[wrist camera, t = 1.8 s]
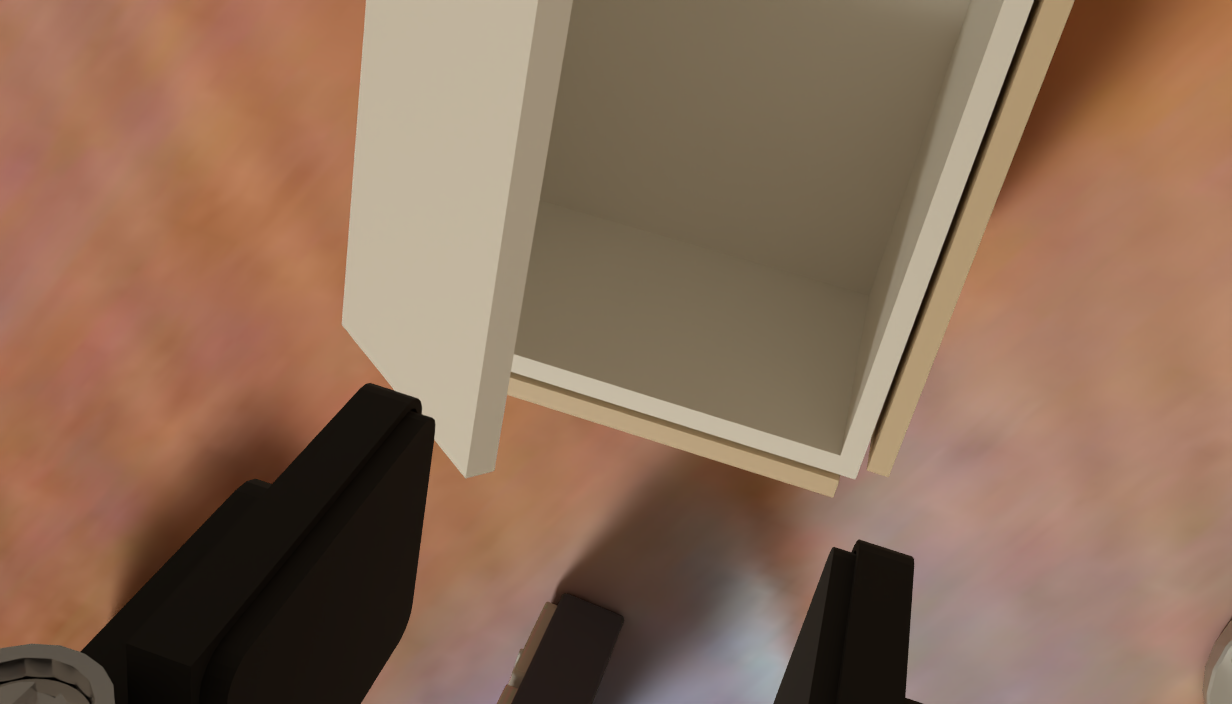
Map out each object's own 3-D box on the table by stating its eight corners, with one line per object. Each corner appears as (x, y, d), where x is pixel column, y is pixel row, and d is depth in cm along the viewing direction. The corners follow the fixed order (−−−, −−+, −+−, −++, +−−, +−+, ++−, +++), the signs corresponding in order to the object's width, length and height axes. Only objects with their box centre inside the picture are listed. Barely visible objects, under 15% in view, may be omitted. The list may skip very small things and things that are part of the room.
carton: (1151, -364, 30) (1232, -403, 21) (896, 333, 41) (875, 511, 32) (617, -475, 32) (473, -555, 23) (510, 219, 43) (383, 355, 34)
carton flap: (650, -467, 19) (610, -478, 18) (494, 471, 28) (465, 478, 28) (439, -489, 23) (403, -499, 23) (367, 320, 33) (341, 324, 33)
